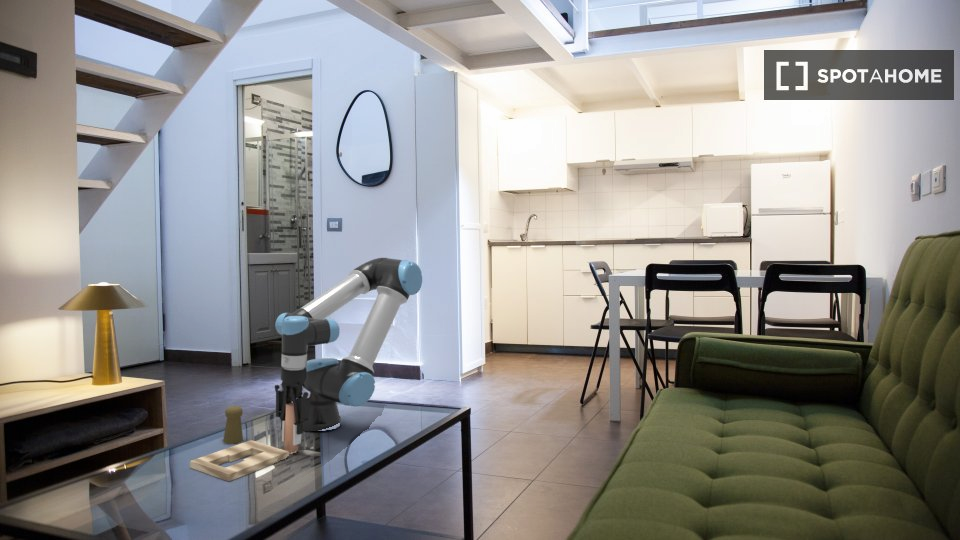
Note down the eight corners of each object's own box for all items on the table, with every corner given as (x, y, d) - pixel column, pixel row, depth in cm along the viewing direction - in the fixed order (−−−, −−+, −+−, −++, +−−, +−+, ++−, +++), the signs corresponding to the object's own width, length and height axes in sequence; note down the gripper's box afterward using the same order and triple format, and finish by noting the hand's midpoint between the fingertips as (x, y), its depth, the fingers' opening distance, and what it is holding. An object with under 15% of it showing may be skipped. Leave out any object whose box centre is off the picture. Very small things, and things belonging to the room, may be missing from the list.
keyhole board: (250, 446, 212) (251, 440, 212) (288, 458, 204) (288, 451, 204) (190, 467, 193) (190, 460, 193) (228, 481, 185) (229, 474, 185)
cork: (241, 444, 214) (242, 409, 213) (221, 444, 213) (222, 409, 212) (244, 437, 220) (245, 404, 219) (225, 437, 219) (225, 403, 218)
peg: (291, 448, 212) (292, 401, 211) (300, 451, 210) (302, 404, 209) (281, 452, 209) (283, 404, 207) (291, 455, 207) (292, 407, 205)
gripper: (264, 364, 208) (262, 439, 210) (305, 374, 200) (303, 452, 202) (282, 360, 214) (280, 433, 217) (323, 369, 206) (320, 445, 208)
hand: (291, 442), depth 209 cm, fingers closed on peg, 4 cm apart
